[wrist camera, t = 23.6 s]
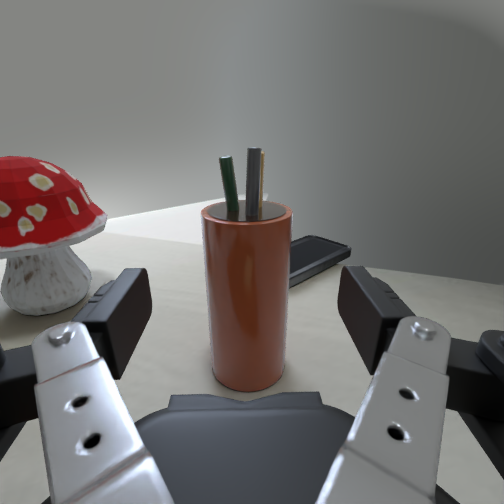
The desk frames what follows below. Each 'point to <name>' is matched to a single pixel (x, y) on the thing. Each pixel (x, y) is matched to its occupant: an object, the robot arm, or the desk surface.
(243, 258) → the pencil cup
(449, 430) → the desk surface
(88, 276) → the decorative mushroom
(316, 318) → the desk surface
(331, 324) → the desk surface
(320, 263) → the phone
